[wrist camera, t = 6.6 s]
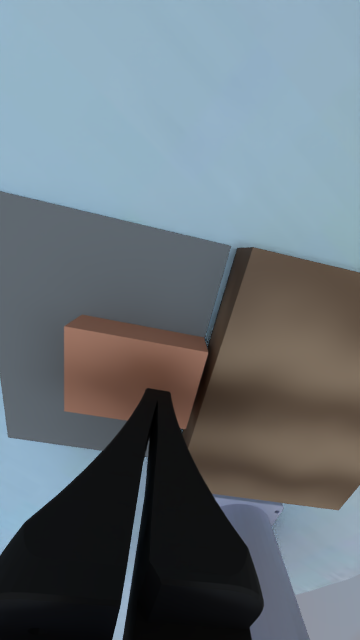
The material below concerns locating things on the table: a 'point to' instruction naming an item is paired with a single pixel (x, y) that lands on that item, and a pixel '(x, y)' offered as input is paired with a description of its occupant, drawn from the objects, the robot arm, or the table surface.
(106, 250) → the mat
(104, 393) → the block
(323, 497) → the brown flat wooden slab
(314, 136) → the table surface
